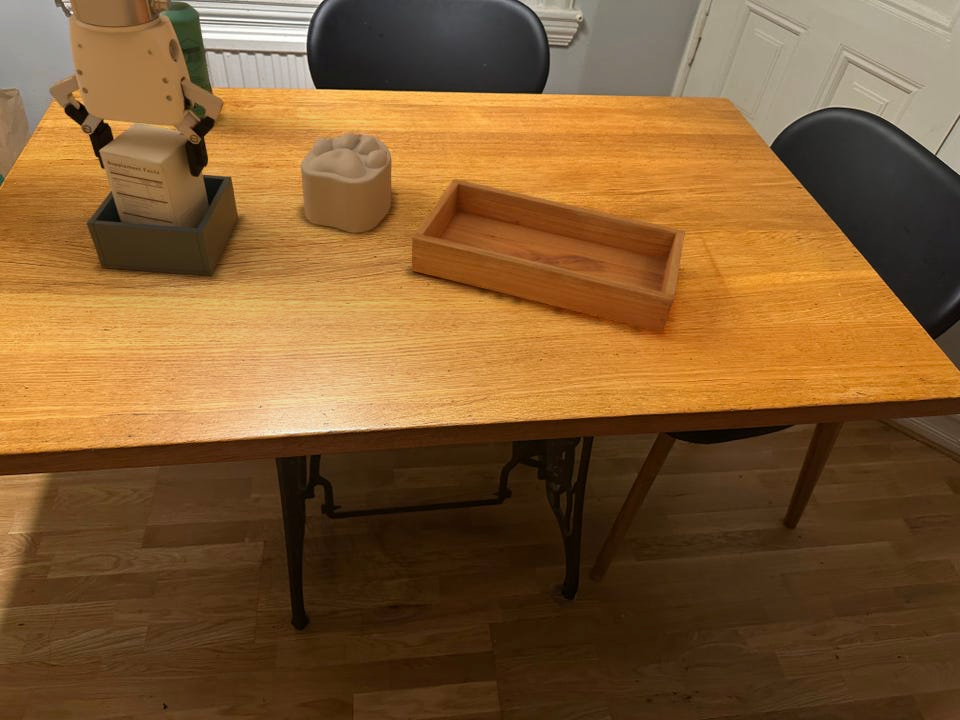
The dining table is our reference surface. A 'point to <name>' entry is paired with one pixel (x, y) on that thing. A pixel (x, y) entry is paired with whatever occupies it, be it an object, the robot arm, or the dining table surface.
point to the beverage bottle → (191, 46)
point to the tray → (551, 253)
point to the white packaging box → (154, 178)
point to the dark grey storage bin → (167, 236)
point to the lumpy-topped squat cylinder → (347, 182)
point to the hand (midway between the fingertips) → (154, 167)
